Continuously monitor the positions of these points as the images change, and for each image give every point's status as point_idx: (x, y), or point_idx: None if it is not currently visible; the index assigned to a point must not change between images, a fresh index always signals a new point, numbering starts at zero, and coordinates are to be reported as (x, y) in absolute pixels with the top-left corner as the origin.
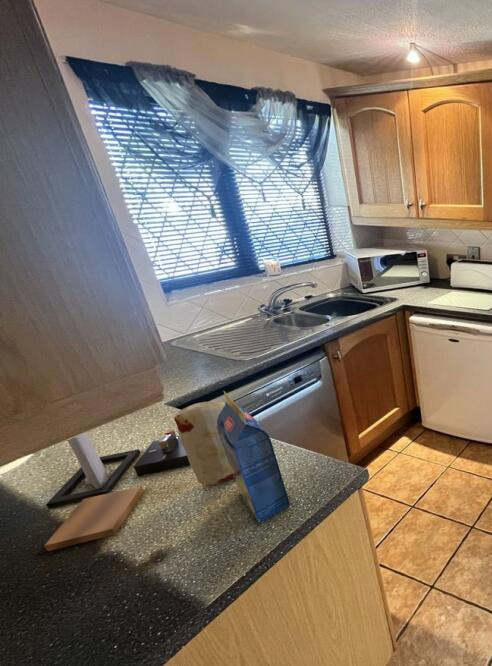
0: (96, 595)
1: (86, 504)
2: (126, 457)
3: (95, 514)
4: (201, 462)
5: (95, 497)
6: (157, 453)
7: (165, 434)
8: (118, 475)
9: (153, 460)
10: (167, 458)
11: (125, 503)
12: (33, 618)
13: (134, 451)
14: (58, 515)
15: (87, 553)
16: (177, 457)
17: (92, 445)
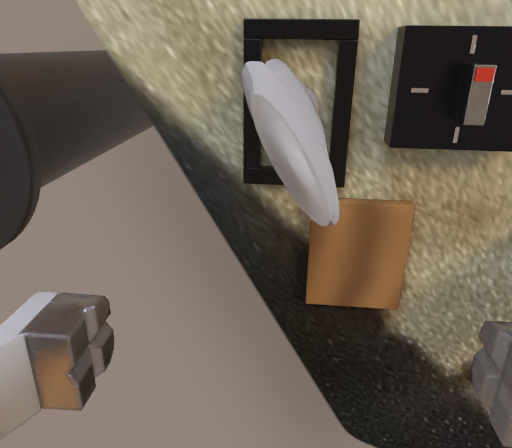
0: (409, 400)
1: None
2: (340, 55)
3: (355, 260)
4: None
5: None
6: (434, 107)
7: (476, 85)
8: (348, 135)
9: (431, 139)
10: (463, 144)
11: (399, 251)
12: (348, 401)
13: (350, 28)
14: (275, 209)
15: (368, 324)
16: (487, 150)
17: (316, 119)
